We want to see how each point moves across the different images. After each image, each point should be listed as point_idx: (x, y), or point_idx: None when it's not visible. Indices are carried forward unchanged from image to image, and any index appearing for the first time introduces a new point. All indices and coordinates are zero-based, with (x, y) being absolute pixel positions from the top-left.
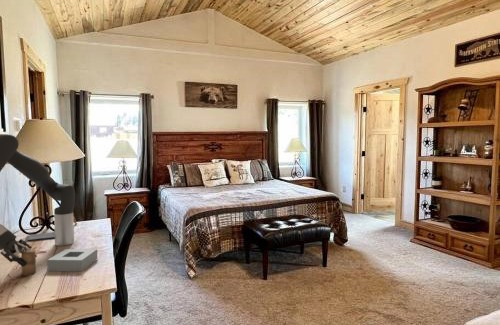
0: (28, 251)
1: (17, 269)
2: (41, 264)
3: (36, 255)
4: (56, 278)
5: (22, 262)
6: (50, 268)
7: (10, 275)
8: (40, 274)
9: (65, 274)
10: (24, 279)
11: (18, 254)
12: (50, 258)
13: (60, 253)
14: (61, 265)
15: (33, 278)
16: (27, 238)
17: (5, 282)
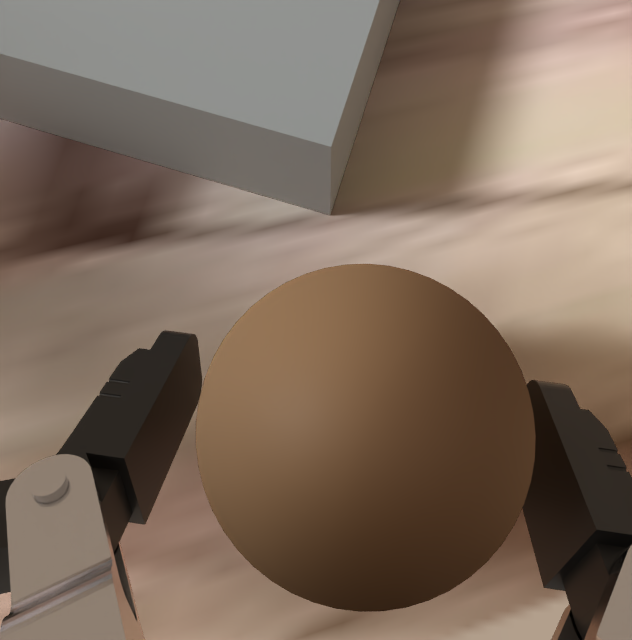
0: (351, 432)
1: (163, 583)
2: (70, 342)
3: (165, 333)
4: (582, 75)
5: (616, 448)
6: (340, 170)
7: None
8: (419, 262)
9: (486, 16)
10: None
11: (628, 628)
12: (273, 118)
13: (56, 36)
14: (383, 22)
15: (527, 302)
16: None
17: None
